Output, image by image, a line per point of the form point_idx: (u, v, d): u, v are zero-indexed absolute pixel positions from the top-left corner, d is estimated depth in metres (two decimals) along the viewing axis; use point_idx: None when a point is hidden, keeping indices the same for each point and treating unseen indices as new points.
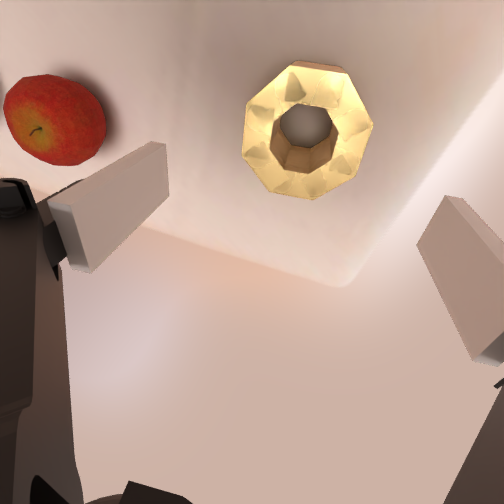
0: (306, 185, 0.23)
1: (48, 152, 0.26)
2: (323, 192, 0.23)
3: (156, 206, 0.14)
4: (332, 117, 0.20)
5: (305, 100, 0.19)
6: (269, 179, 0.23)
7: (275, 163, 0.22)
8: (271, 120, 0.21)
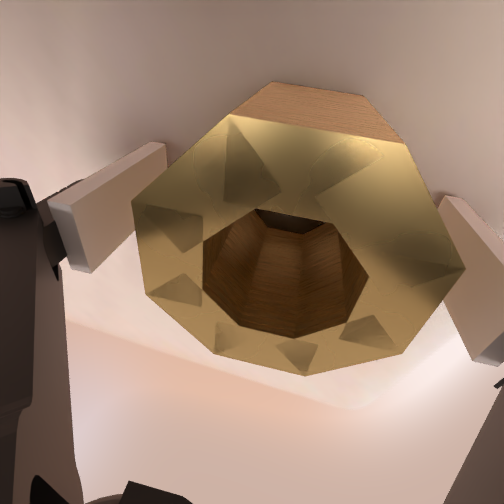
0: (290, 354, 0.11)
1: None
2: (327, 368, 0.11)
3: None
4: (353, 245, 0.07)
5: (279, 203, 0.07)
6: (212, 337, 0.11)
7: (220, 314, 0.10)
8: (198, 239, 0.08)
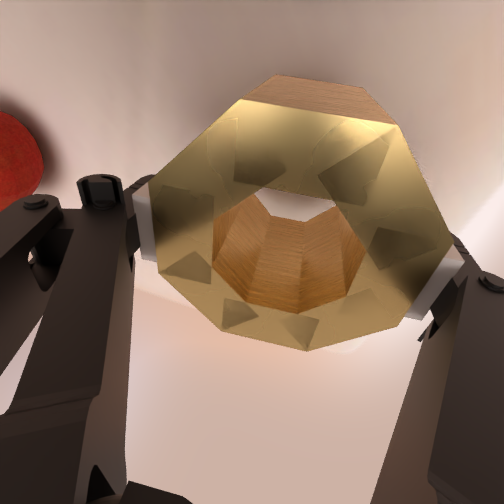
0: (293, 329, 0.11)
1: None
2: (328, 343, 0.11)
3: None
4: (351, 221, 0.08)
5: (285, 182, 0.08)
6: (220, 314, 0.12)
7: (228, 291, 0.11)
8: (209, 217, 0.09)
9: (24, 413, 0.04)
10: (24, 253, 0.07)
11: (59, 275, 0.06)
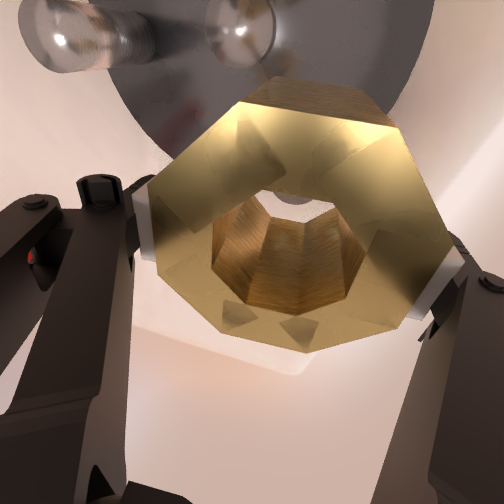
0: (293, 331, 0.11)
1: None
2: (327, 345, 0.11)
3: None
4: (351, 223, 0.08)
5: (284, 184, 0.08)
6: (219, 316, 0.12)
7: (227, 293, 0.11)
8: (208, 220, 0.09)
9: (24, 413, 0.04)
10: (23, 253, 0.07)
11: (59, 275, 0.06)
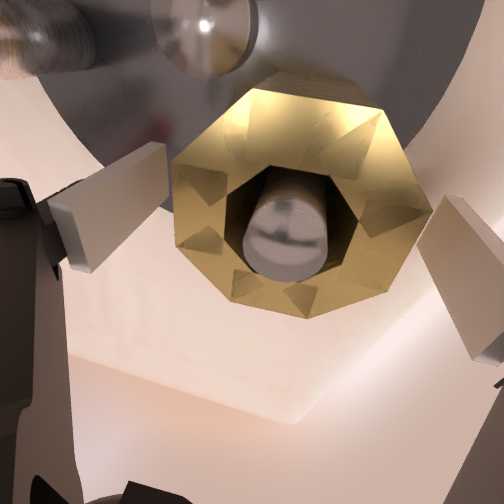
0: (295, 297, 0.13)
1: None
2: (326, 310, 0.13)
3: (156, 206, 0.14)
4: (345, 194, 0.09)
5: (289, 160, 0.09)
6: (229, 285, 0.13)
7: (237, 262, 0.12)
8: (223, 193, 0.10)
9: None
10: None
11: None
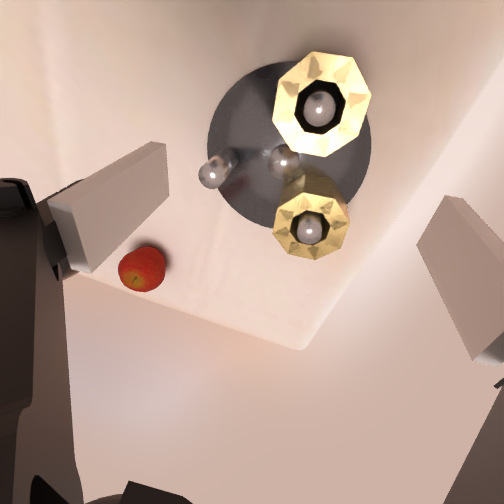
0: (311, 251, 0.38)
1: (139, 288, 0.49)
2: (321, 255, 0.38)
3: (156, 206, 0.14)
4: (326, 218, 0.35)
5: (311, 209, 0.34)
6: (288, 247, 0.38)
7: (292, 239, 0.37)
8: (291, 217, 0.36)
9: None
10: None
11: None
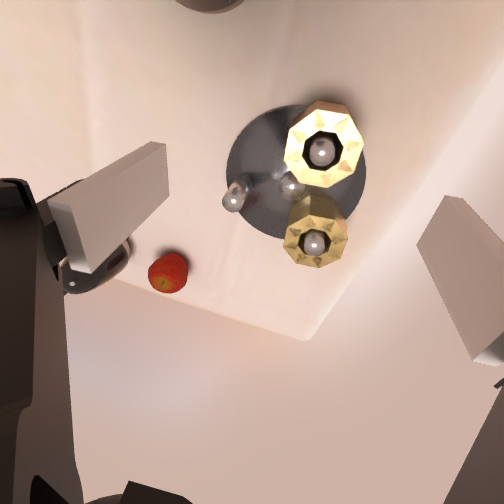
0: (315, 261, 0.45)
1: (166, 291, 0.57)
2: (324, 264, 0.45)
3: (156, 206, 0.14)
4: (328, 235, 0.42)
5: (315, 227, 0.42)
6: (296, 257, 0.45)
7: (300, 251, 0.45)
8: (299, 234, 0.43)
9: None
10: None
11: None
